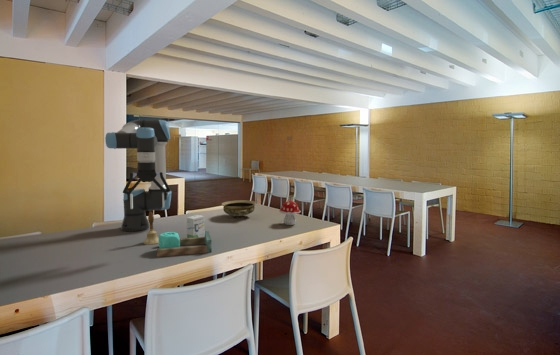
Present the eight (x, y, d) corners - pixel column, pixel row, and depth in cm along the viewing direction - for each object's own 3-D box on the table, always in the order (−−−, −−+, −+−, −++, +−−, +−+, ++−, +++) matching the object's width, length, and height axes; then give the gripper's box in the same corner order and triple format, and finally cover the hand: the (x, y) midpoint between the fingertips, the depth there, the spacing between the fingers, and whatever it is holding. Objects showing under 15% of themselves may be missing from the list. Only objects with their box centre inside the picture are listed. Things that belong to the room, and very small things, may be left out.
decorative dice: (180, 251, 151) (179, 234, 150) (162, 254, 147) (162, 237, 146) (175, 246, 158) (175, 231, 157) (158, 249, 153) (158, 233, 153)
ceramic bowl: (218, 213, 234) (218, 200, 233) (250, 211, 242) (250, 198, 241) (225, 223, 206) (225, 208, 205) (261, 220, 214) (261, 206, 213)
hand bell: (143, 245, 159) (142, 214, 158) (143, 240, 167) (142, 210, 165) (161, 243, 163) (160, 212, 161) (160, 239, 170) (159, 209, 169)
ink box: (198, 235, 178) (198, 214, 177) (205, 236, 175) (204, 215, 174) (186, 239, 171) (186, 217, 170) (193, 240, 168) (193, 218, 167)
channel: (157, 256, 143) (156, 243, 143) (159, 246, 158) (159, 234, 158) (211, 252, 150) (211, 239, 150) (208, 242, 165) (208, 230, 165)
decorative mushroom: (294, 220, 215) (294, 198, 213) (304, 225, 202) (304, 201, 201) (275, 222, 209) (275, 199, 207) (284, 227, 196) (285, 203, 195)
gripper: (114, 162, 138) (116, 210, 140) (175, 161, 146) (176, 207, 148) (117, 161, 146) (119, 207, 147) (175, 161, 153) (176, 204, 155)
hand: (147, 207), depth 148 cm, fingers open, 13 cm apart
